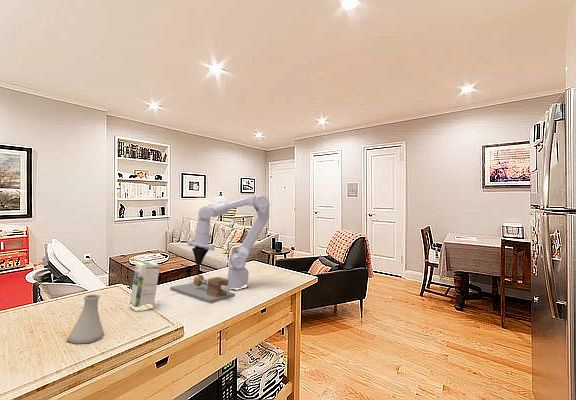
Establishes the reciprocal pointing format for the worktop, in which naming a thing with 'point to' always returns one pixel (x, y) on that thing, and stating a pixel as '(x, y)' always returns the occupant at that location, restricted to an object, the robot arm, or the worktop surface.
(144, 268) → the syrup box
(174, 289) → the base board
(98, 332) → the flask
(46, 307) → the worktop surface
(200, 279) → the shaft
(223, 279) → the block
